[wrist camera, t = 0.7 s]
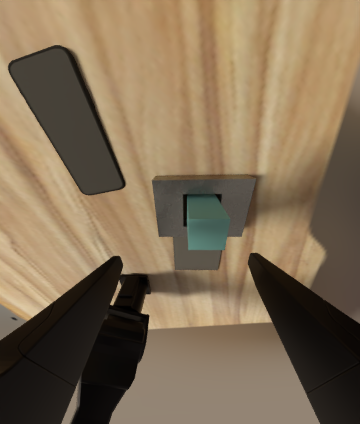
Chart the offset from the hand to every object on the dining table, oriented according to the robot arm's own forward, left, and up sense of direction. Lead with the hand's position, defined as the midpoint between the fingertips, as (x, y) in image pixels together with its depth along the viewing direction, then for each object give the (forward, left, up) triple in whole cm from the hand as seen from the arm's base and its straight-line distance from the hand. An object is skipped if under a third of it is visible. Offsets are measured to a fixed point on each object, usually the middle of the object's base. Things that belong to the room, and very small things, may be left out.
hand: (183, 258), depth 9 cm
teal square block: (-1, -3, -12) cm, 13 cm away
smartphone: (+8, +13, -13) cm, 20 cm away
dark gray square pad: (-12, -3, -12) cm, 17 cm away
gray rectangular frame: (-1, -3, -12) cm, 13 cm away
